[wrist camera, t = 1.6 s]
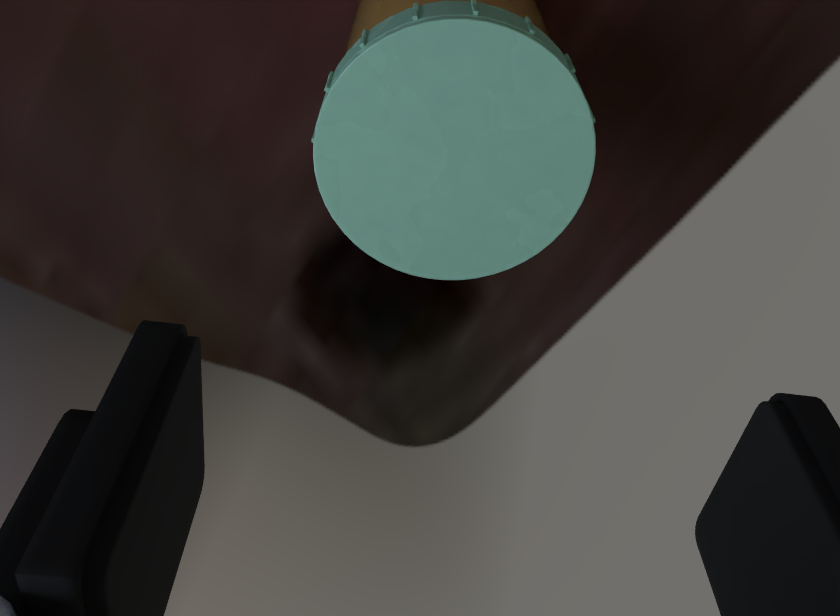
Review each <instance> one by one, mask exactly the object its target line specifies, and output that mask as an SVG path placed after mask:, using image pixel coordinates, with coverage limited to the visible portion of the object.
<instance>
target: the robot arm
mask: <svg viewBox="0 0 840 616" xmlns="http://www.w3.org/2000/svg"><path fill="white" fill-rule="evenodd" d="M201 378H202V377H201V347H200V339H199V337H194V336H187V329H186V326H185V325H181V324H173V323H164V322H155V321H146V320H144V321H142V322H141V323H140V325H139V326H138V328H137V330H136V332H135V334H134V336H133V338H132V340H131V342H130V344H129V346H128V348H127V350H126V352H125V354H124V356H123V358H122V360H121V362H120V364H119V366H118V368H117V370H116V372H115V374H114V376H113V378H112V380H111V382H110V384H109V386H108V388H107V390H106V392H105V394H104V396H103V398H102V400H101V402H100V404H99V406H98V408H97V410H96V411H86V410H77V409H70V410H69V411H67V412H66V413H65V414H64V415H63V417H62V419H61V420H60V421H59V423H58V425H57V427H56V428H55V430H54V432H53V434H52V436H51V437H50V439H49V441H48V443H47V445H46V447H45V448H44V450H43V452H42V454H41V456H40V457H39V459H38V461H37V463H36V465H35V467H34V469H33V470H32V472H31V474H30V476H29V478H28V480H27V481H26V483H25V485H24V487H23V488H22V490H21V492H20V494H19V496H18V498H17V499H16V501H15V503H14V505H13V507H12V509H11V510H10V512H9V514H8V516H7V518H6V520H5V522H4V523H3V525H2V527H1V529H0V616H164V613H165V609H166V606H167V603H168V600H169V596H170V593H171V590H172V586H173V583H174V580H175V577H176V573H177V570H178V567H179V563H180V560H181V557H182V554H183V550H184V547H185V544H186V540H187V537H188V534H189V531H190V527H191V524H192V520H193V518H194V514H195V511H196V508H197V504H198V501H199V498H200V495H201V491H202V486H203V480H204V438H203V408H202V380H201ZM695 528H696V529H695V535H696V542H697V546H698V549H699V551H700V554H701V557H702V560H703V563H704V566H705V569H706V572H707V575H708V578H709V581H710V584H711V587H712V590H713V593H714V596H715V599H716V602H717V605H718V608H719V611H720V614H721V616H840V428H839V426H838V424H837V423H836V421H835V419H834V418H833V416H832V414H831V413H830V411H829V409H828V408H827V406H826V404H825V403H824V402H823V401H822V400H821V399H819V398H817V397H811V396H803V395H794V394H785V393H776V394H775V395H774V396H772V397H771V398H770V400H769V401H764V402H762V403H760V404H759V405H758V407H757V408H756V410H755V412H754V414H753V415H752V417H751V419H750V421H749V423H748V425H747V427H746V429H745V430H744V432H743V434H742V436H741V438H740V440H739V442H738V444H737V445H736V447H735V450H734V451H733V453H732V455H731V457H730V459H729V460H728V462H727V464H726V466H725V468H724V470H723V472H722V474H721V476H720V477H719V479H718V481H717V483H716V485H715V487H714V488H713V490H712V492H711V494H710V496H709V498H708V500H707V502H706V503H705V505H704V507H703V509H702V511H701V513H700V515H699V516H698V519H697V522H696V527H695Z"/></svg>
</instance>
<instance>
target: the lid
mask: <svg viewBox="0 0 840 616" xmlns="http://www.w3.org/2000/svg"><path fill="white" fill-rule="evenodd" d="M575 72H576V70H575V68H574V66H573V64H572V61H571V59H570V57H569V55H568V54H567V53H566V54H565V55H563V53H562V52H561V50H560V49H559V48H558V47H557V46H556V45H555V43H554V42H553V41H552V40H551V39H550V38H549V37H548V36H547V35H546V34H544V33H543V32H542V31H541V30H540V29H538V28H537V27H536V26H535V25H533V24H532V23H531V20H530V18H529V17H527V16H526V17H525V18H524V19H523V18H522V17H520V16H518V15H517V14H514V13H512V12H509V11H507V10H504V9H502V8H499V7H495V6H492V5H488V4H485V3H479V2H476V0H471V2H470V1H440V2H434V3H427V4H423V5H419V6H418V3H417V2H416V3H413V7H412V8H408V9H406V10H404V11H402V12H399V13H397V14H395V15H393V16H390V17H389V18H387V19H385V20H384V21H382V22H380V23H379V24H377V25H375V26H374V27H373V28H372V29H370V30H369V31H368V30H367V29H364V30H363V32H362V36H361V38H359V40H358V41H357V42H356V43H355V44H354V45H353V46H352V47H351V48H350V49H349V50H348V52H347V53H346V54H345V56H344V57H343V59H342V60H341V62H340V63H339V65H338V66H337V68H336V70H335V72H332V71H331V72H330V74H329V76H328V80H327V83H326V86H325V90H324V91H326V93H325V96H324V100H323V103H322V106H321V110H320V113H319V116H318V120H317V123H316V126H315V130H314V133H313V136H312V143H314V147H313V159H314V169H315V175H316V179H317V183H318V187H319V191H320V193H321V196H322V198H323V201H324V203H325V205H326V207H327V209H328V211H329V212H330V214H331V216H332V218H333V219H334V221H335V222H336V223H337V225H338V226H339V227H340V229H341V230H342V231H343V232H344V233H345V234H346V235H347V237H348V238H349V239H350V240H351V241H352V242H353V243H354V244H355V245H357V246H358V247H359V248H360V249H362V250H363V251H364V252H365V253H367V254H368V255H370V256H371V257H373V258H375V259H376V260H378V261H379V262H381V263H383V264H385V265H387V266H389V267H392V268H394V269H396V270H399V271H402V272H405V273H408V274H411V275H415V276H419V277H424V278H430V279H439V280H464V279H473V278H479V277H484V276H488V275H493V274H496V273H499V272H502V271H504V270H507V269H510V268H512V267H514V266H516V265H518V264H520V263H523V262H525V261H526V260H528V259H529V258H531V257H533V256H534V255H536V254H537V253H539V252H540V251H541V250H543V249H544V248H545V247H546V246H548V245H549V244H550V243H551V242H553V241H554V240H555V238H556V237H557V236H558V235H559V234H560V233H561V232H562V231H563V230H564V229H565V228H566V226H567V225H568V224H569V223H570V221H571V220H572V219H573V217H574V216H575V214H576V212H577V211H578V209H579V207H580V206H581V204H582V202H583V200H584V197H585V195H586V193H587V190H588V188H589V185H590V181H591V178H592V174H593V170H594V163H595V155H596V139H595V130H594V124H593V123H594V122H595V118H594V116H593V113H592V111H591V109H590V107H589V105H588V102H587V100H586V98H585V95H584V93H583V91H582V89H581V86H580V84H579V82H578V80H577V78H576V76H575V74H574V73H575Z"/></svg>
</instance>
